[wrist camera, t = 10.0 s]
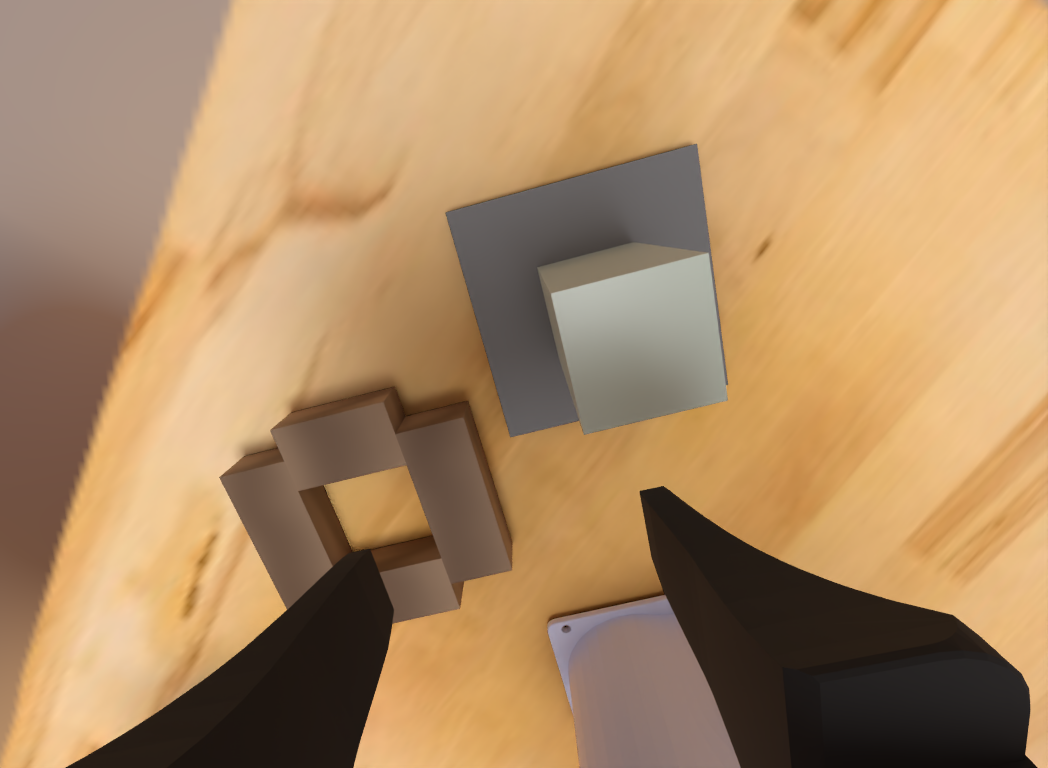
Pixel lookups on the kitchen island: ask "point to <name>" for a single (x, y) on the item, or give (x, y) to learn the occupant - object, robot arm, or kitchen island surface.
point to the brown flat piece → (359, 449)
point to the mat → (555, 235)
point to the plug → (635, 332)
